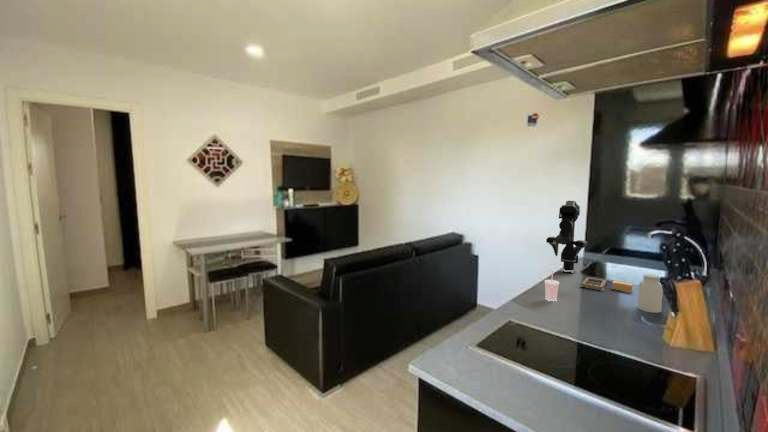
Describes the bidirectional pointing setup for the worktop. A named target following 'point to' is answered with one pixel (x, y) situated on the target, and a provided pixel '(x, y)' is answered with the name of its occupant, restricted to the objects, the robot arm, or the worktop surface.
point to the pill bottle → (650, 294)
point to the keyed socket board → (594, 285)
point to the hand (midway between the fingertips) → (565, 257)
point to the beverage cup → (551, 289)
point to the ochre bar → (622, 286)
